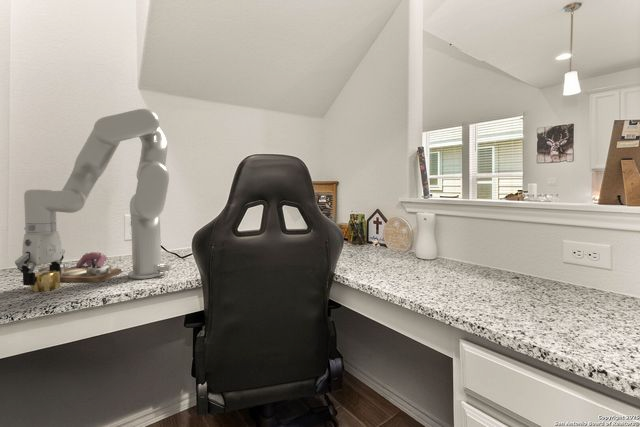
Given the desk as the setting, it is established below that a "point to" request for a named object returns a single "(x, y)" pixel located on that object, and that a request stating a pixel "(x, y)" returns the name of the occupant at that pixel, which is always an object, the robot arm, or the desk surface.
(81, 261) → the video game controller
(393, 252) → the desk surface
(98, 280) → the gear board
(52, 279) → the brass gear
